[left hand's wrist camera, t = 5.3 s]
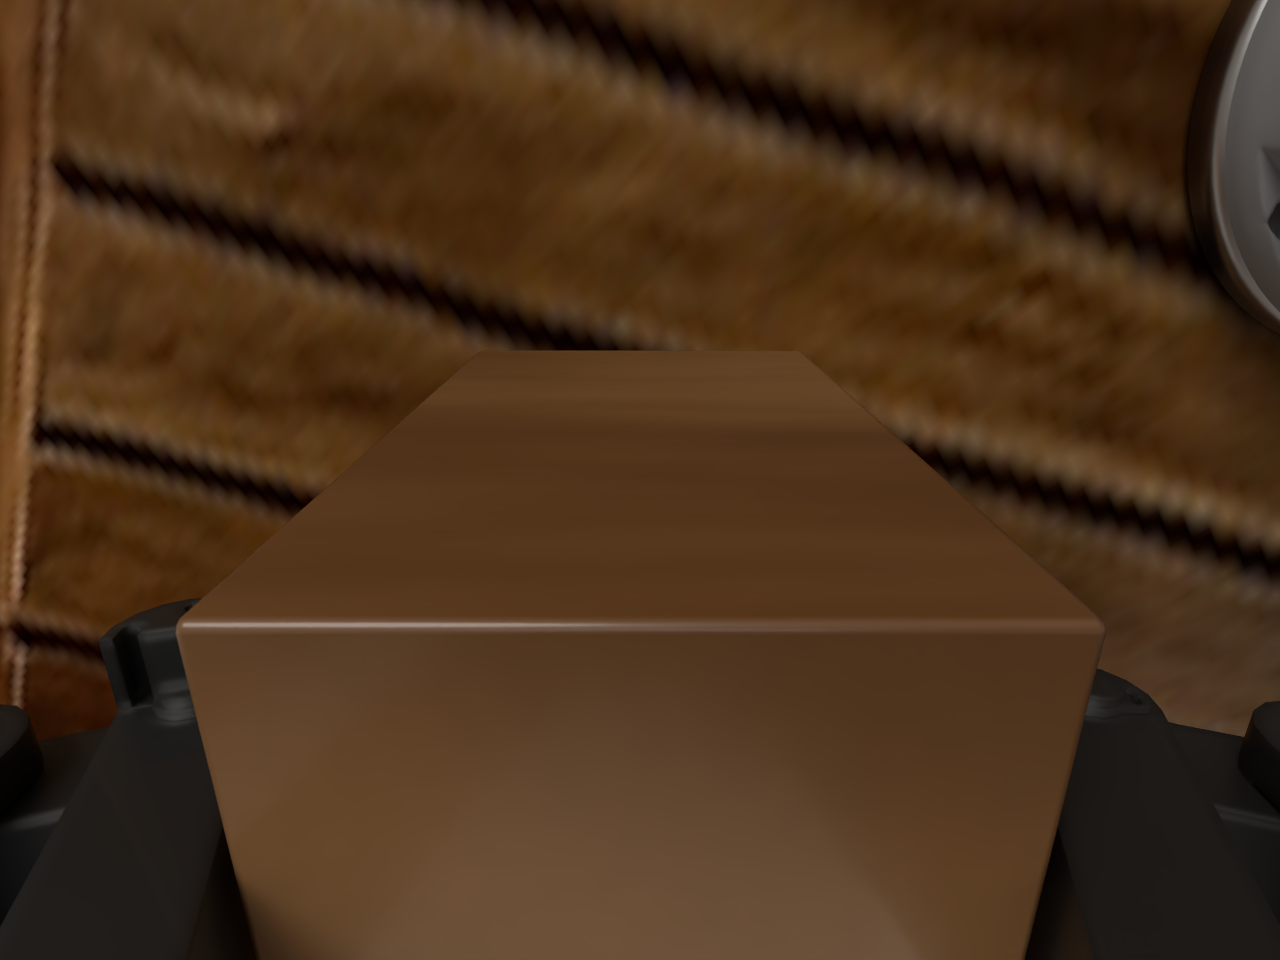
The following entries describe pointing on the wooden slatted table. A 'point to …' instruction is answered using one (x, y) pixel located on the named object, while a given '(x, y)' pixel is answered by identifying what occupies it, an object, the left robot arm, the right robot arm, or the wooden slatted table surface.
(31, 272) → the wooden slatted table surface
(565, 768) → the bar
